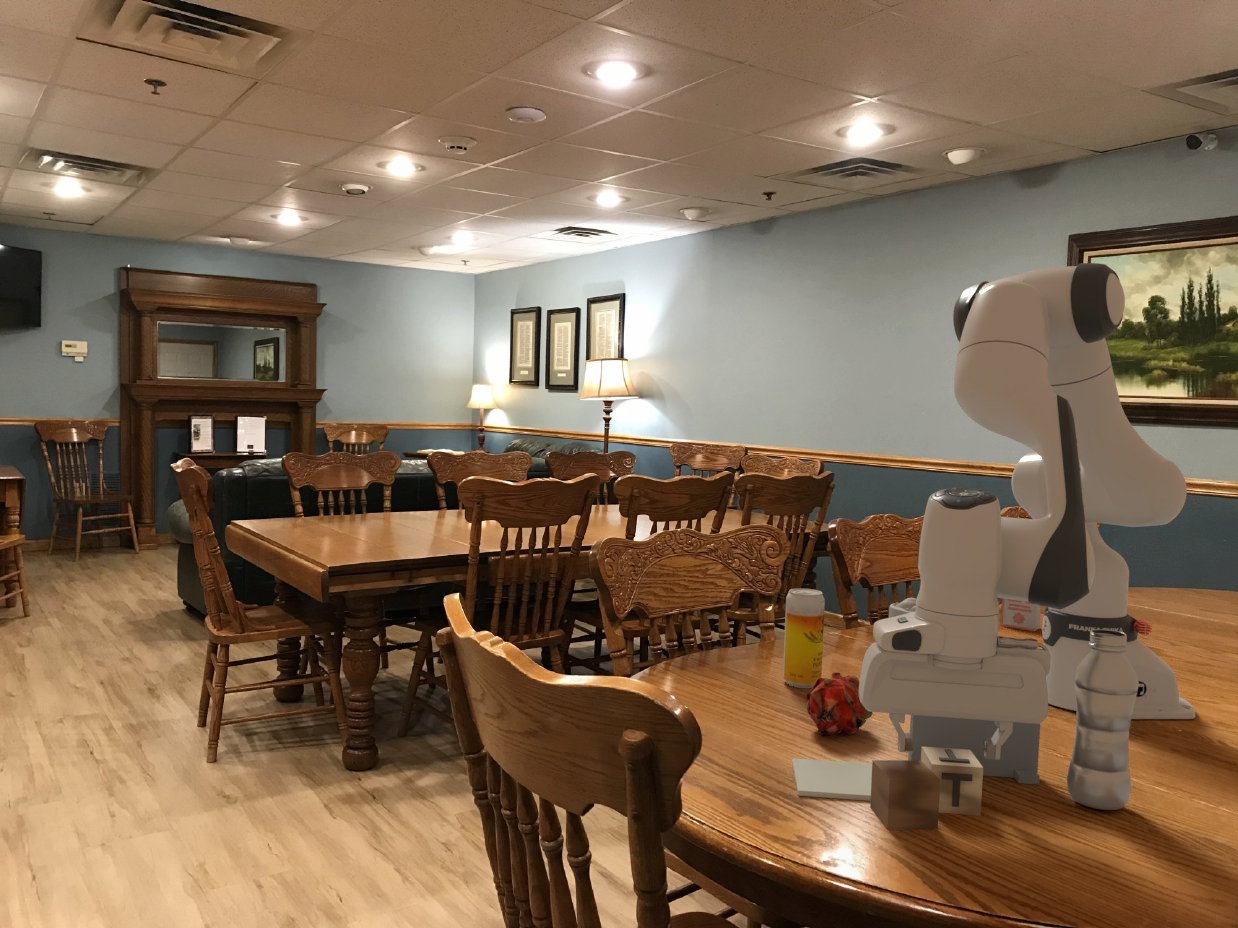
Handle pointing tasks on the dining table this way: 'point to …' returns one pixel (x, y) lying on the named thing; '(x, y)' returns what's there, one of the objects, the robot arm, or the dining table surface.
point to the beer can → (803, 637)
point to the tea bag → (1020, 615)
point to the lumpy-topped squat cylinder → (902, 607)
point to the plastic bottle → (1103, 723)
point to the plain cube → (905, 795)
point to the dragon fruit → (836, 705)
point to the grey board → (981, 744)
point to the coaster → (833, 779)
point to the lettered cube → (956, 779)
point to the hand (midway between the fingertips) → (947, 754)
